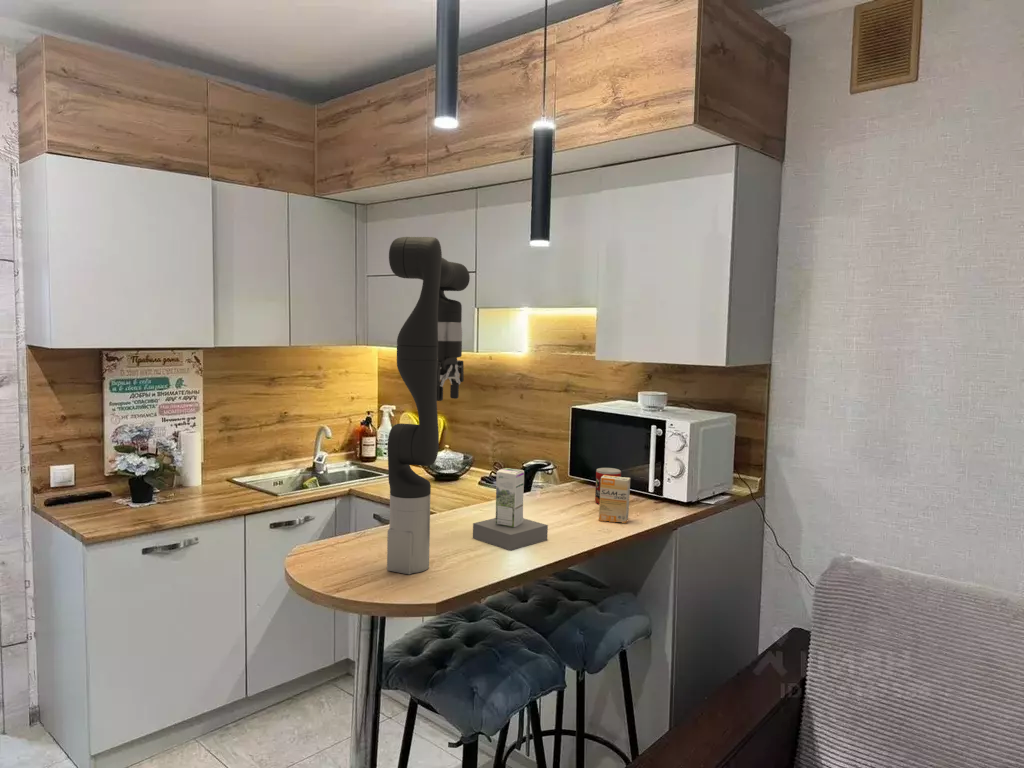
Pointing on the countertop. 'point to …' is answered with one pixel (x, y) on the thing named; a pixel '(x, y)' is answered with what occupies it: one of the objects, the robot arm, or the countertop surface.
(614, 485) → the supplement box
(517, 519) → the syrup box
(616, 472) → the canned food
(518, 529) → the plate
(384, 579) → the countertop surface
